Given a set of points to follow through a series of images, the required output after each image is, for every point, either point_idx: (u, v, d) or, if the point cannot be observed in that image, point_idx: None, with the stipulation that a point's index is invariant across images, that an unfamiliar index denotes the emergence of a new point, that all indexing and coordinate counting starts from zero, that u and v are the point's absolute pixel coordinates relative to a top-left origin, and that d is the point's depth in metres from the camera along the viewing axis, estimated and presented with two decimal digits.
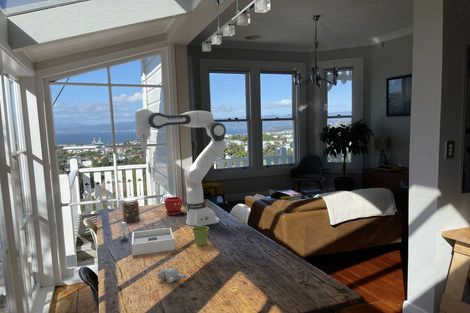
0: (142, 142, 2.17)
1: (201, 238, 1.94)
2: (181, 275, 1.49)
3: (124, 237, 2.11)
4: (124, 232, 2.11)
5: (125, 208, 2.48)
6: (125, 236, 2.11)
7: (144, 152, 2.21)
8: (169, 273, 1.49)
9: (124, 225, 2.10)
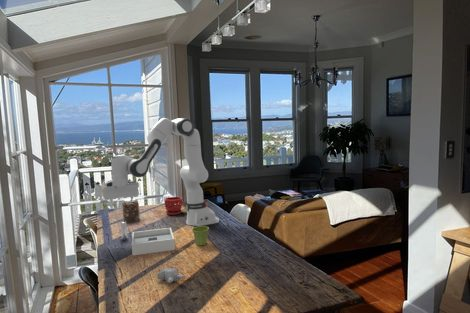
0: (137, 189, 2.11)
1: (201, 238, 1.94)
2: (180, 275, 1.48)
3: (124, 237, 2.11)
4: (124, 232, 2.11)
5: (125, 208, 2.48)
6: (125, 236, 2.11)
7: (132, 199, 2.12)
8: (168, 273, 1.49)
9: (124, 225, 2.10)
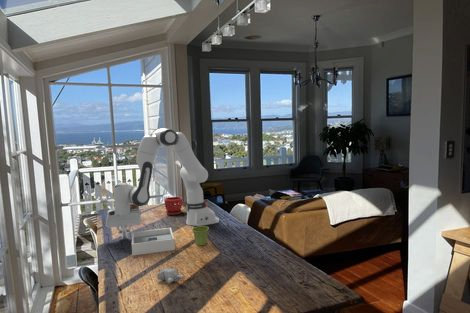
0: None
1: (201, 238, 1.94)
2: (180, 276, 1.48)
3: (124, 237, 2.11)
4: (124, 232, 2.11)
5: None
6: (125, 236, 2.11)
7: None
8: (168, 273, 1.49)
9: None
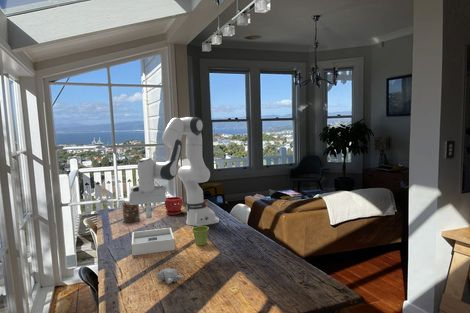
0: None
1: (201, 238, 1.94)
2: (180, 276, 1.48)
3: (148, 216, 1.98)
4: (149, 210, 1.98)
5: (125, 208, 2.48)
6: (149, 215, 1.98)
7: (154, 206, 2.00)
8: (168, 274, 1.49)
9: (148, 203, 1.98)
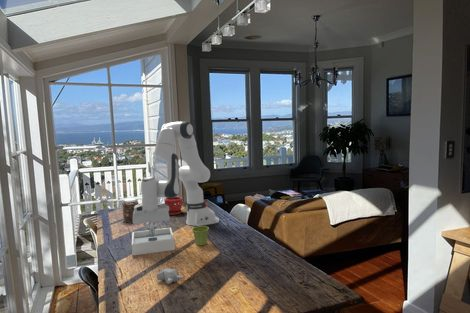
0: None
1: (201, 238, 1.94)
2: (179, 276, 1.48)
3: (152, 234, 1.98)
4: (152, 229, 1.98)
5: (125, 208, 2.48)
6: (153, 233, 1.98)
7: None
8: (168, 274, 1.48)
9: (152, 222, 1.98)
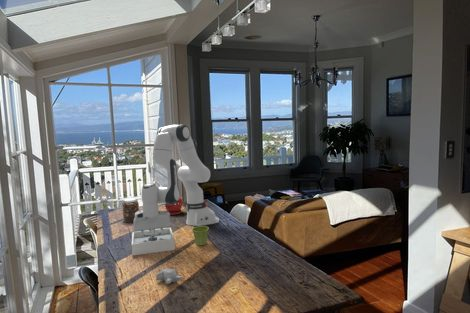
0: (168, 219, 2.00)
1: (201, 238, 1.94)
2: (179, 276, 1.47)
3: None
4: (153, 237, 1.98)
5: (125, 208, 2.48)
6: None
7: None
8: (167, 274, 1.48)
9: (153, 230, 1.98)
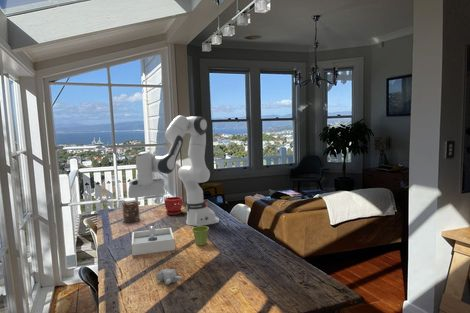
0: None
1: (201, 238, 1.94)
2: (178, 277, 1.47)
3: None
4: (153, 237, 1.98)
5: (125, 208, 2.48)
6: None
7: (157, 198, 2.05)
8: (166, 274, 1.48)
9: (153, 230, 1.98)
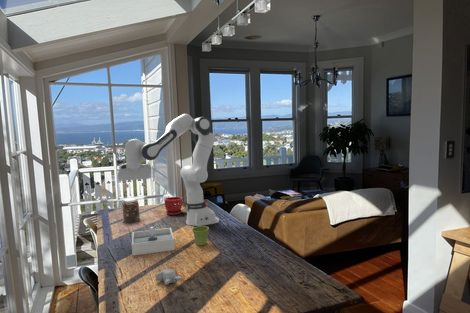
0: None
1: (201, 238, 1.94)
2: (178, 277, 1.47)
3: None
4: (153, 237, 1.98)
5: (125, 208, 2.48)
6: None
7: (144, 182, 2.23)
8: (166, 275, 1.48)
9: (153, 230, 1.98)
